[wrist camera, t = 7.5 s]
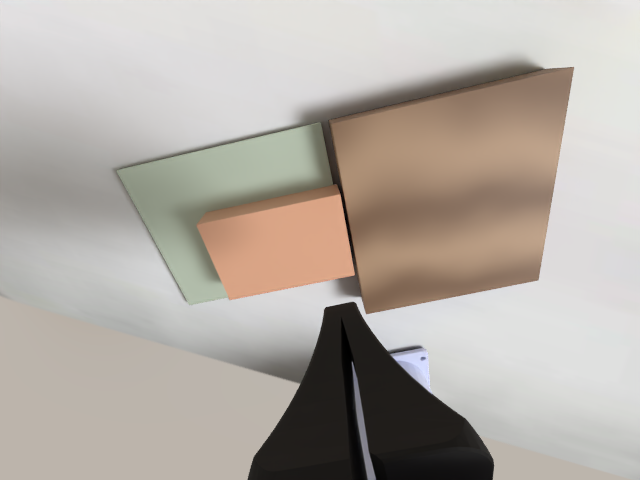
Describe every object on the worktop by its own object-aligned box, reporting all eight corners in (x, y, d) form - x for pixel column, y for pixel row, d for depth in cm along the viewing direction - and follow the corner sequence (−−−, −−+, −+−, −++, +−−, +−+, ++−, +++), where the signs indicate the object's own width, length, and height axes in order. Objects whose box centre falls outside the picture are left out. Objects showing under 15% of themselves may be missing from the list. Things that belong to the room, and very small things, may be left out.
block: (520, 265, 24) (538, 280, 22) (361, 297, 24) (366, 314, 23) (546, 68, 17) (574, 67, 15) (328, 120, 18) (331, 123, 16)
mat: (349, 269, 23) (350, 272, 23) (191, 302, 24) (189, 305, 23) (320, 121, 18) (320, 122, 18) (119, 169, 19) (116, 170, 18)
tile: (350, 260, 22) (354, 275, 20) (235, 283, 23) (229, 299, 21) (336, 184, 19) (340, 194, 18) (205, 212, 20) (196, 224, 18)
